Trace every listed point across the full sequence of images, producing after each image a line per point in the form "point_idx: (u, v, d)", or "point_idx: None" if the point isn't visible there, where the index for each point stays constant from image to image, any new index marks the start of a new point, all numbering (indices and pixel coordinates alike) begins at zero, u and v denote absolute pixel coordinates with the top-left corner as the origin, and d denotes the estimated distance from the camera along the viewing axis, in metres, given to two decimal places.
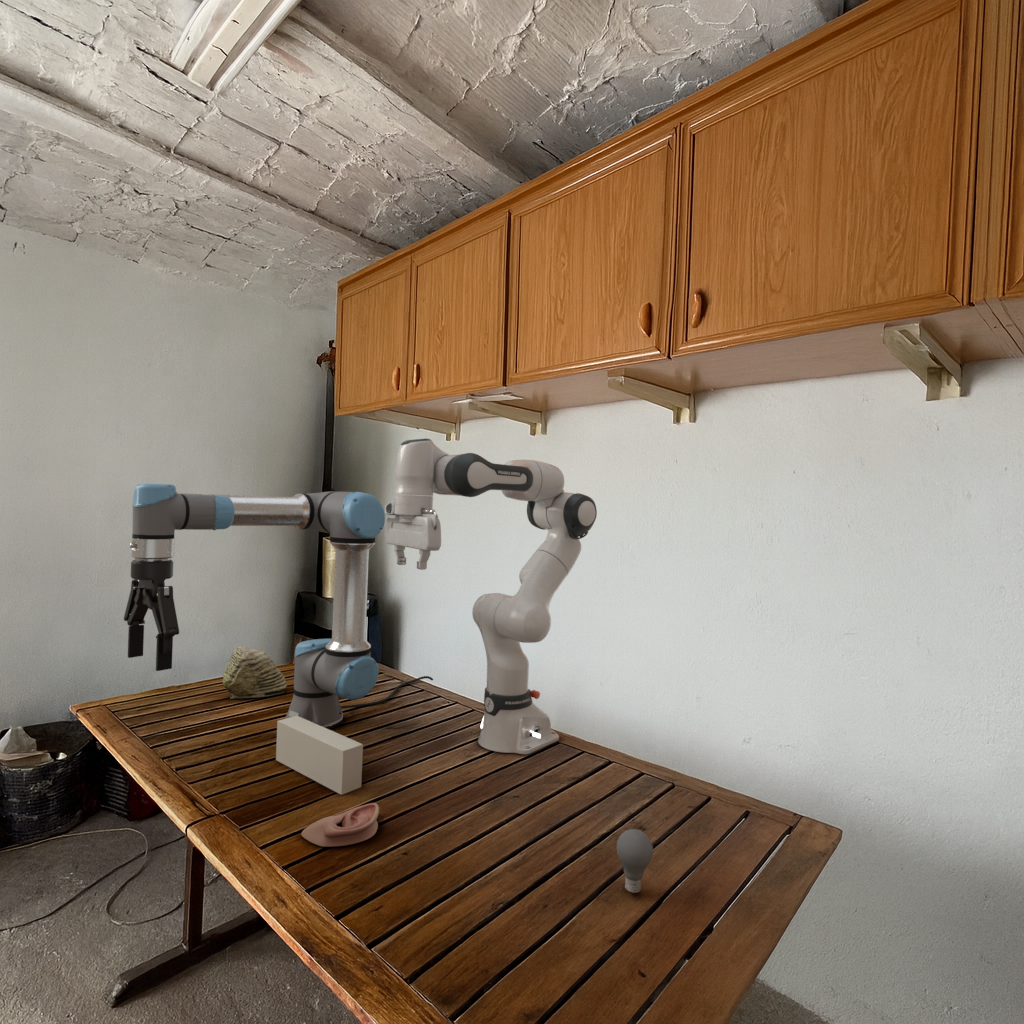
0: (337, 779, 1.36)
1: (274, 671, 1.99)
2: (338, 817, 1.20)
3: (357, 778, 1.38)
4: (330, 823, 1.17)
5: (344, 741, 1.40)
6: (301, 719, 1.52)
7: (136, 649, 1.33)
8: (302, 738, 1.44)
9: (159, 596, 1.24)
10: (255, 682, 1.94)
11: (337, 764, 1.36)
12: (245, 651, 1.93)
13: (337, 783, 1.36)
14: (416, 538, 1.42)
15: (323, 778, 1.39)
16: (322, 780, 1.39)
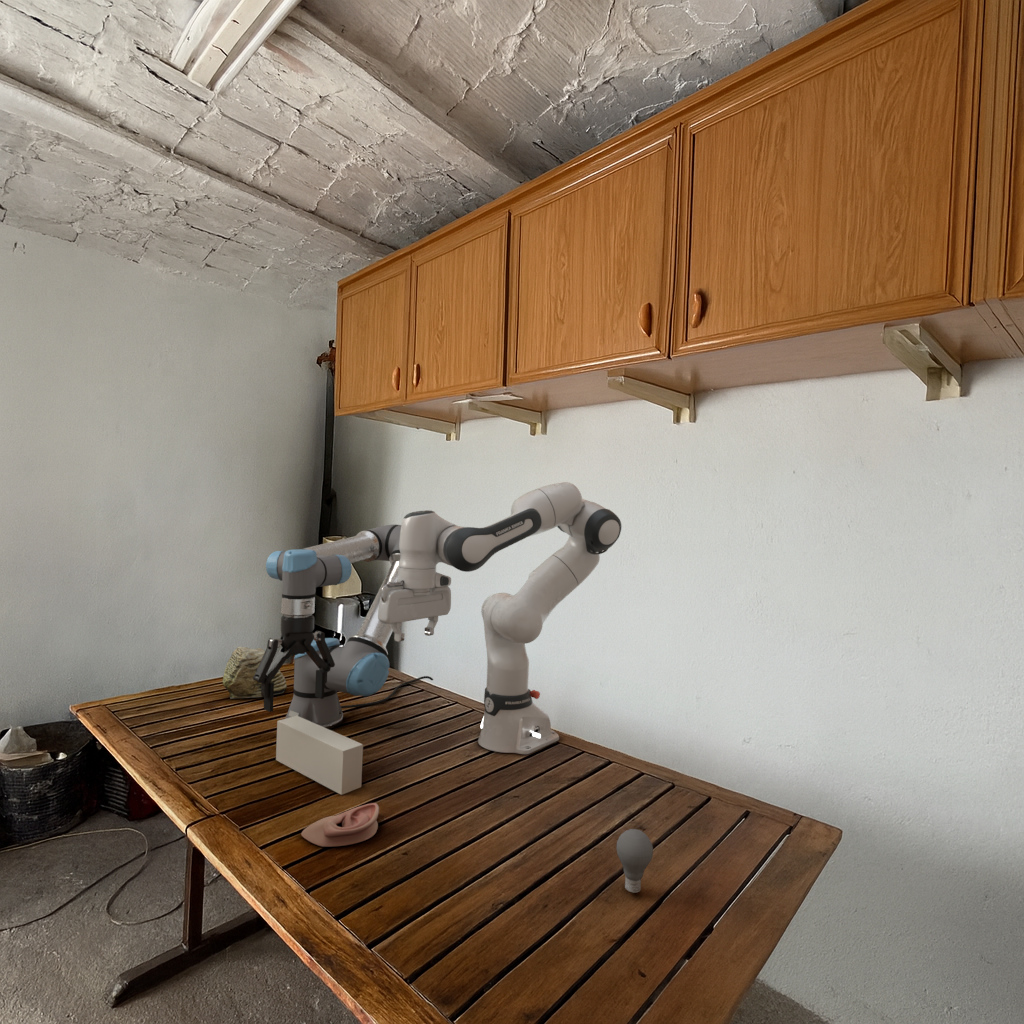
0: (337, 779, 1.36)
1: None
2: (338, 817, 1.20)
3: (357, 778, 1.38)
4: (330, 823, 1.17)
5: (344, 741, 1.40)
6: (301, 719, 1.52)
7: None
8: (302, 738, 1.44)
9: (323, 639, 1.55)
10: (255, 682, 1.94)
11: (337, 764, 1.36)
12: (245, 651, 1.93)
13: (337, 783, 1.36)
14: None
15: (323, 778, 1.39)
16: (322, 780, 1.39)
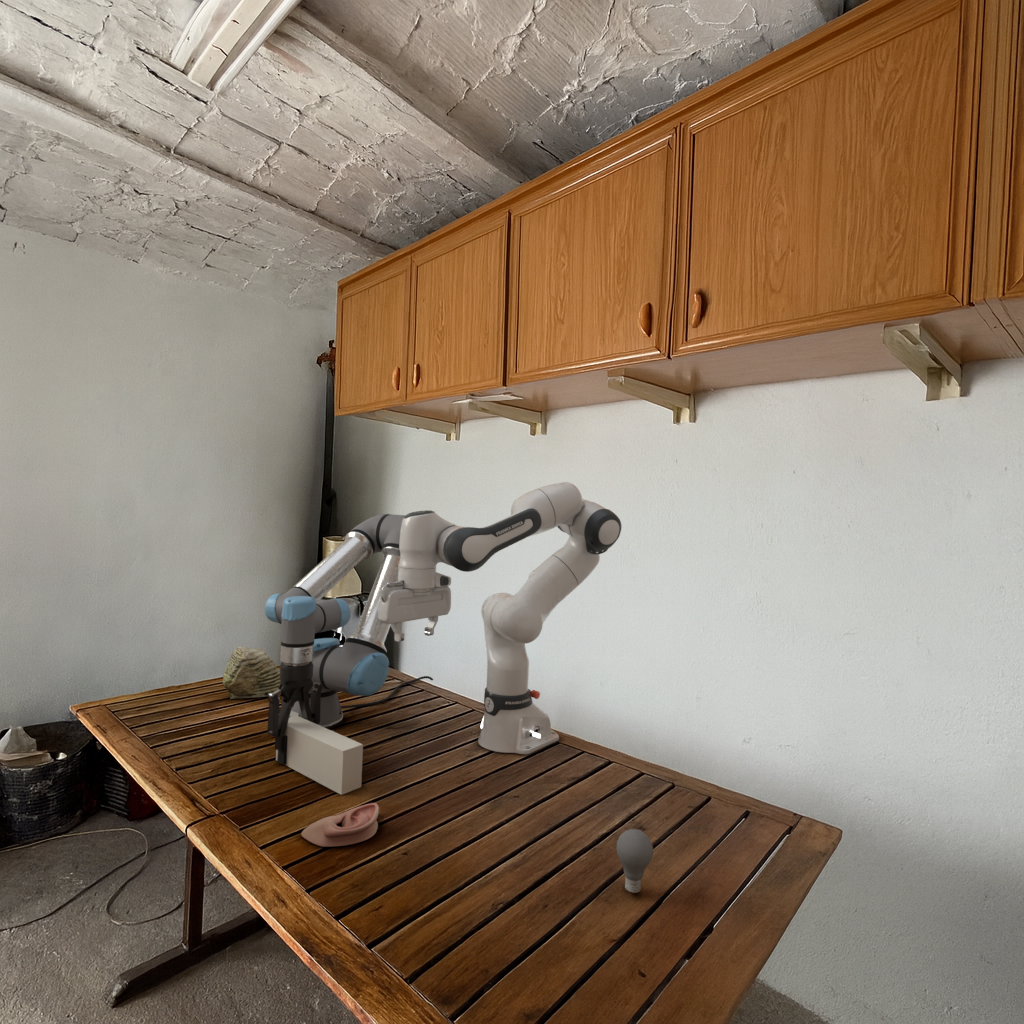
0: (337, 779, 1.36)
1: (274, 671, 1.99)
2: (338, 817, 1.20)
3: (357, 778, 1.38)
4: (330, 823, 1.17)
5: (344, 741, 1.40)
6: (301, 719, 1.52)
7: None
8: (302, 738, 1.44)
9: (319, 691, 1.55)
10: (255, 682, 1.94)
11: (337, 764, 1.36)
12: (245, 651, 1.93)
13: (337, 783, 1.36)
14: None
15: (323, 778, 1.39)
16: (322, 780, 1.39)
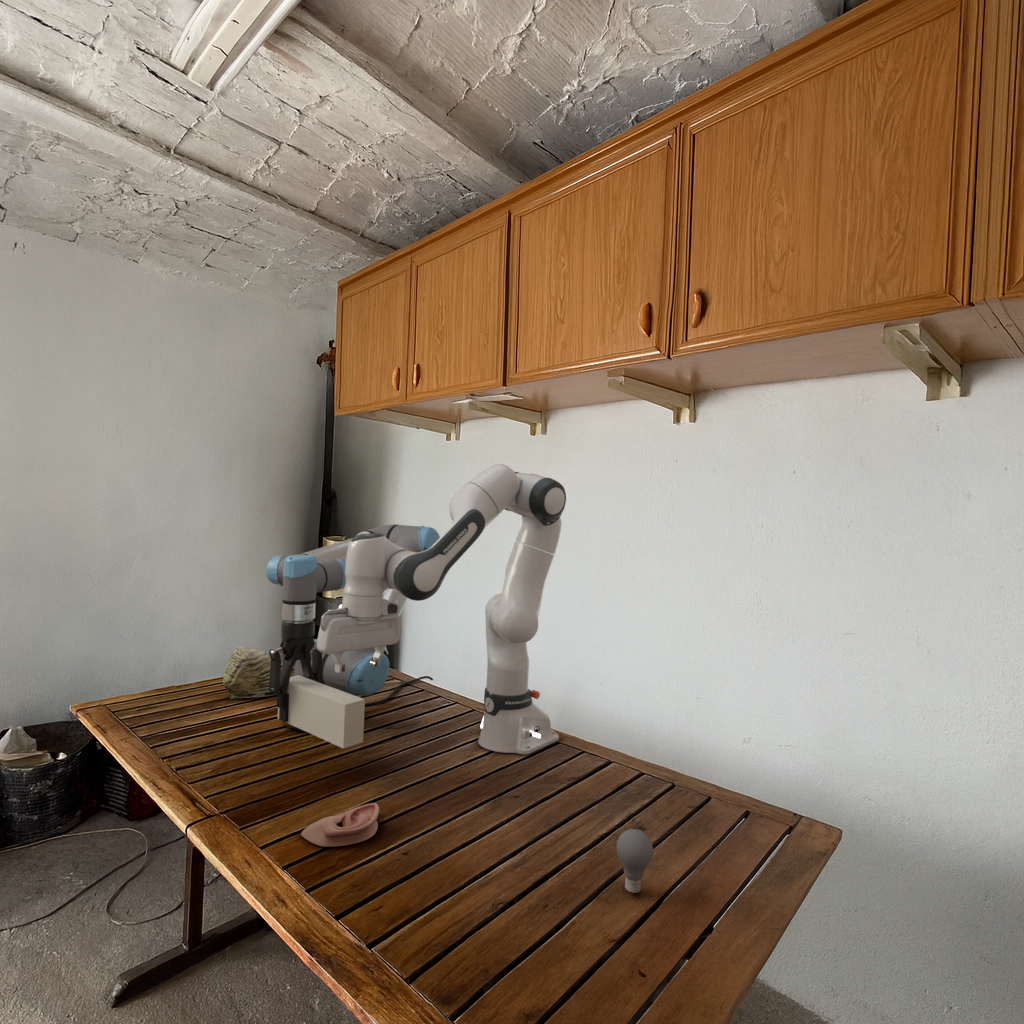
0: (339, 733, 1.36)
1: None
2: (338, 817, 1.20)
3: (359, 733, 1.38)
4: (330, 823, 1.17)
5: (345, 696, 1.40)
6: (303, 678, 1.52)
7: None
8: (304, 695, 1.44)
9: None
10: (255, 682, 1.94)
11: (339, 718, 1.36)
12: (245, 651, 1.93)
13: (339, 737, 1.36)
14: None
15: (325, 733, 1.39)
16: (324, 736, 1.39)
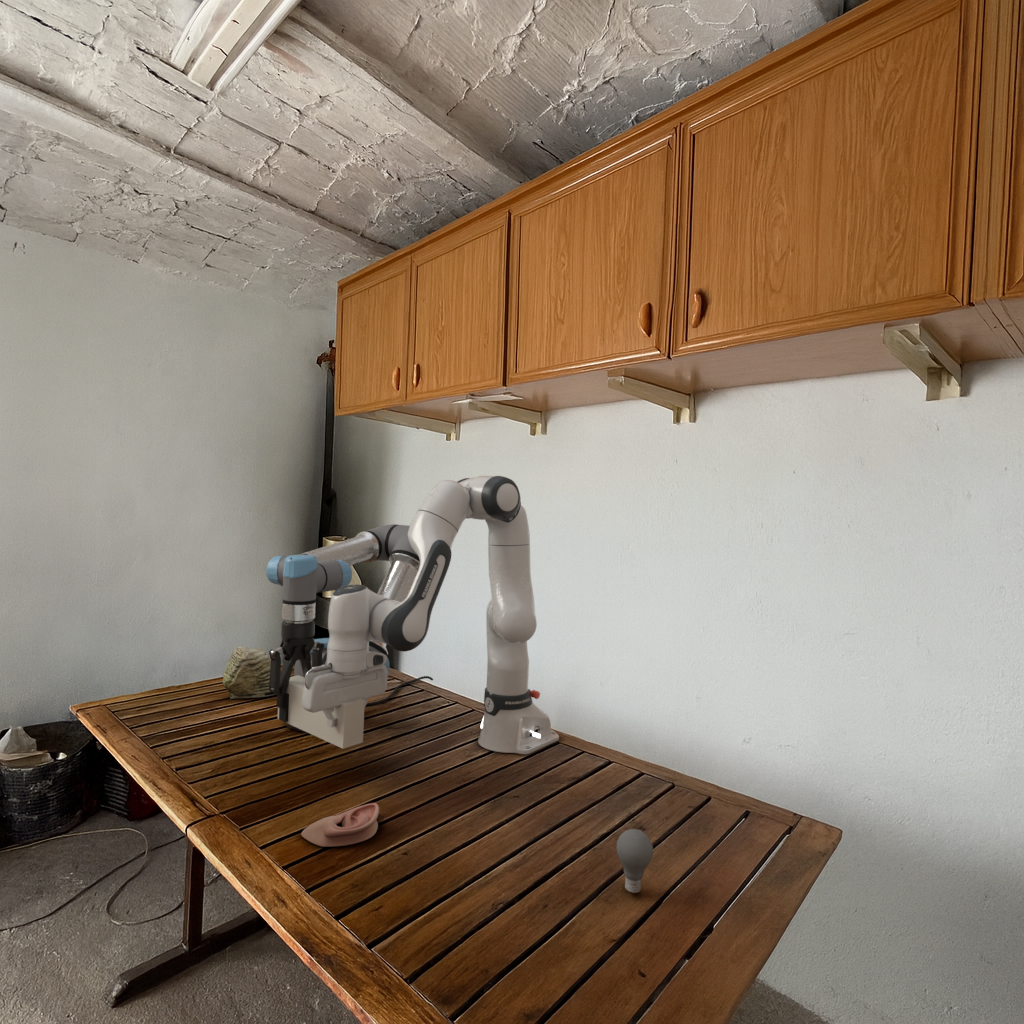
0: (339, 733, 1.36)
1: None
2: (338, 817, 1.20)
3: (359, 733, 1.38)
4: (330, 823, 1.17)
5: None
6: (303, 678, 1.52)
7: None
8: None
9: (321, 651, 1.54)
10: (255, 682, 1.94)
11: (338, 718, 1.36)
12: (245, 651, 1.93)
13: (339, 738, 1.36)
14: None
15: (324, 733, 1.39)
16: (324, 736, 1.39)
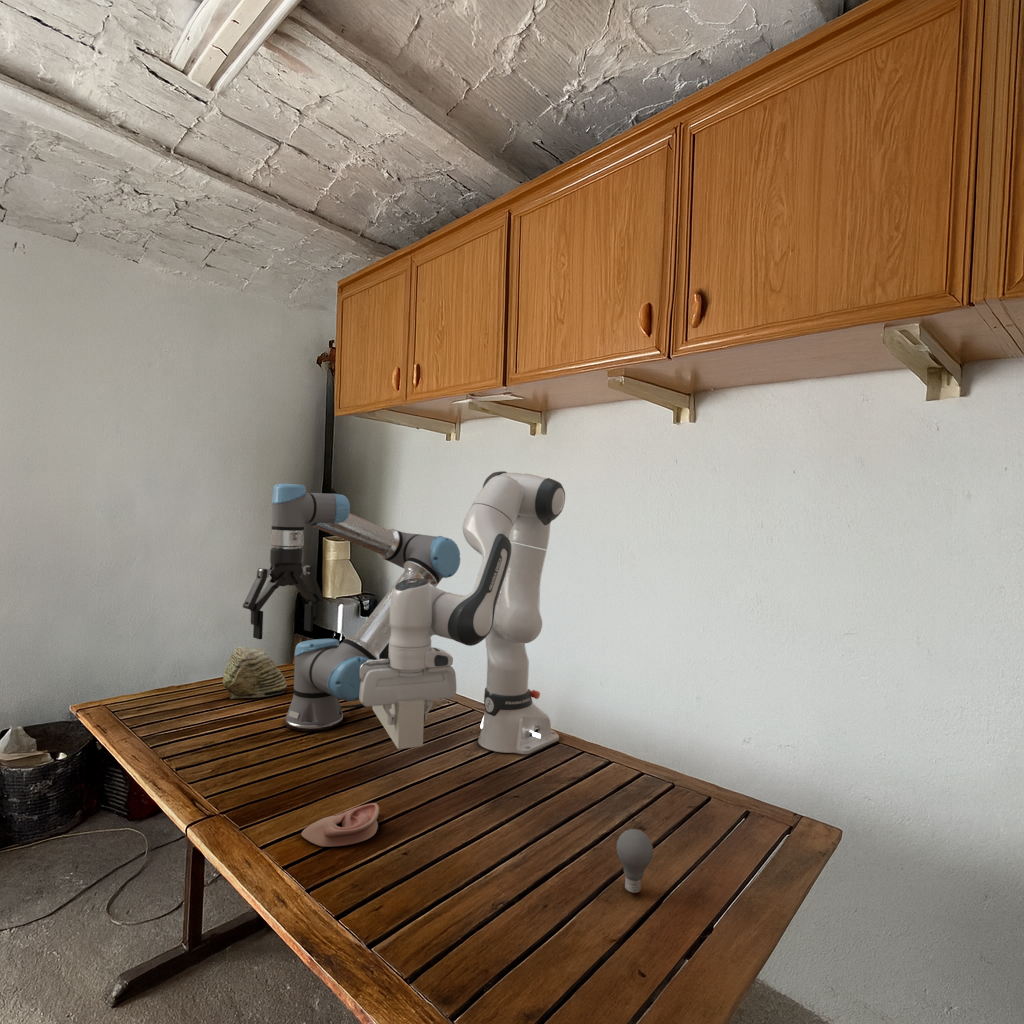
0: (396, 732, 1.30)
1: (274, 671, 1.99)
2: (338, 817, 1.20)
3: (418, 736, 1.31)
4: (330, 823, 1.17)
5: None
6: None
7: None
8: None
9: (312, 573, 1.58)
10: (255, 682, 1.94)
11: (396, 716, 1.31)
12: (245, 651, 1.93)
13: (396, 737, 1.30)
14: None
15: (390, 730, 1.35)
16: (390, 733, 1.35)
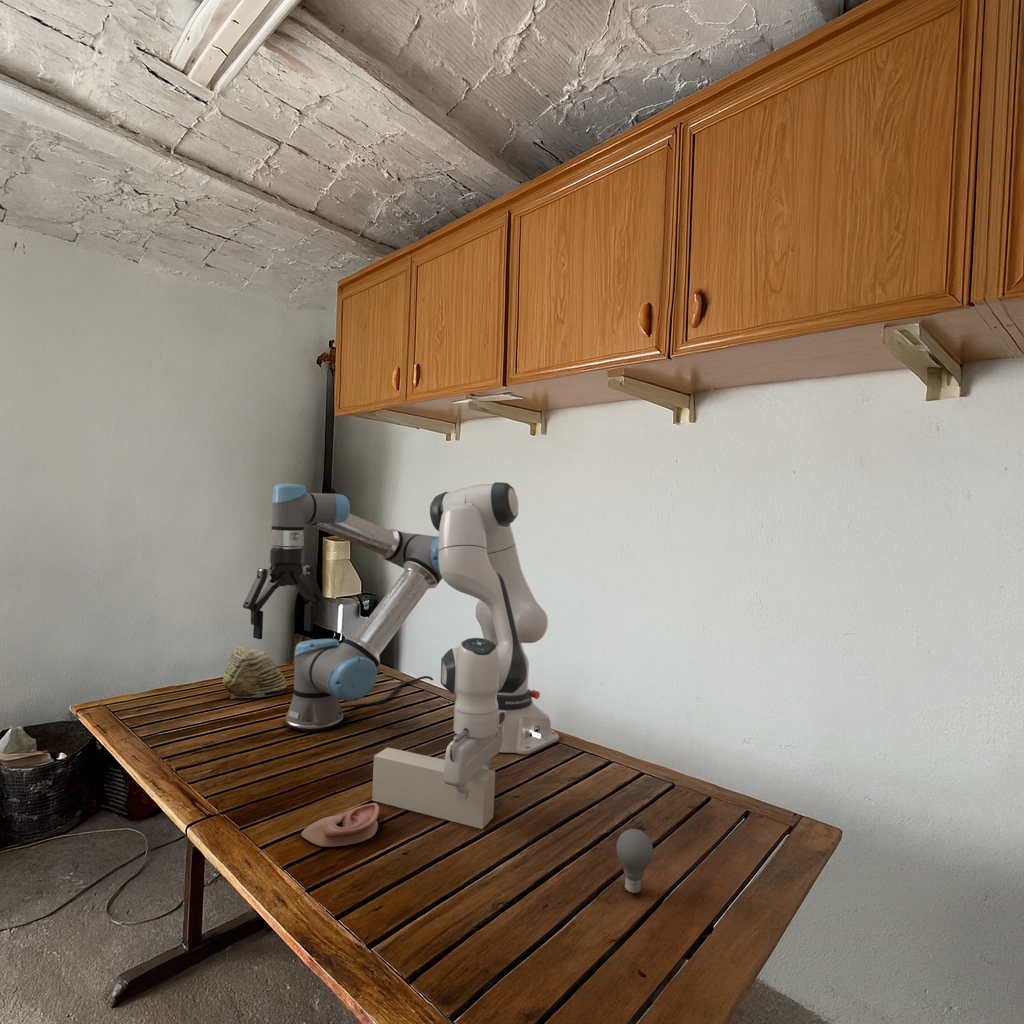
0: (476, 812, 1.24)
1: (274, 671, 1.99)
2: (338, 817, 1.20)
3: (491, 809, 1.27)
4: (330, 823, 1.17)
5: None
6: (398, 751, 1.36)
7: None
8: (417, 773, 1.29)
9: (312, 573, 1.58)
10: (255, 682, 1.94)
11: (475, 796, 1.24)
12: (245, 651, 1.93)
13: (476, 817, 1.24)
14: None
15: (452, 813, 1.26)
16: (451, 816, 1.26)
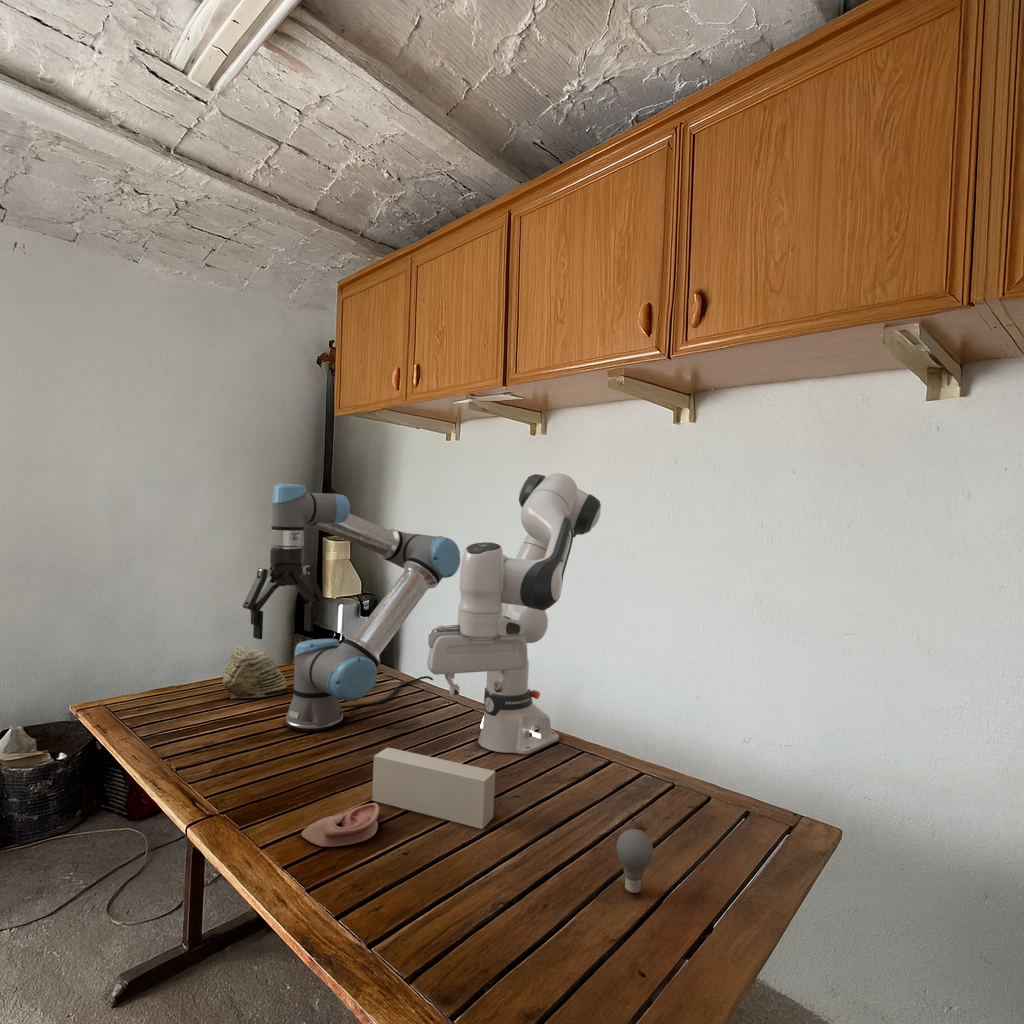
0: (476, 812, 1.24)
1: (274, 671, 1.99)
2: (338, 817, 1.20)
3: (491, 809, 1.27)
4: (330, 823, 1.17)
5: (472, 770, 1.28)
6: (398, 751, 1.36)
7: None
8: (417, 773, 1.29)
9: (312, 573, 1.58)
10: (255, 682, 1.94)
11: (475, 796, 1.24)
12: (245, 651, 1.93)
13: (476, 817, 1.24)
14: None
15: (452, 813, 1.26)
16: (451, 816, 1.26)
